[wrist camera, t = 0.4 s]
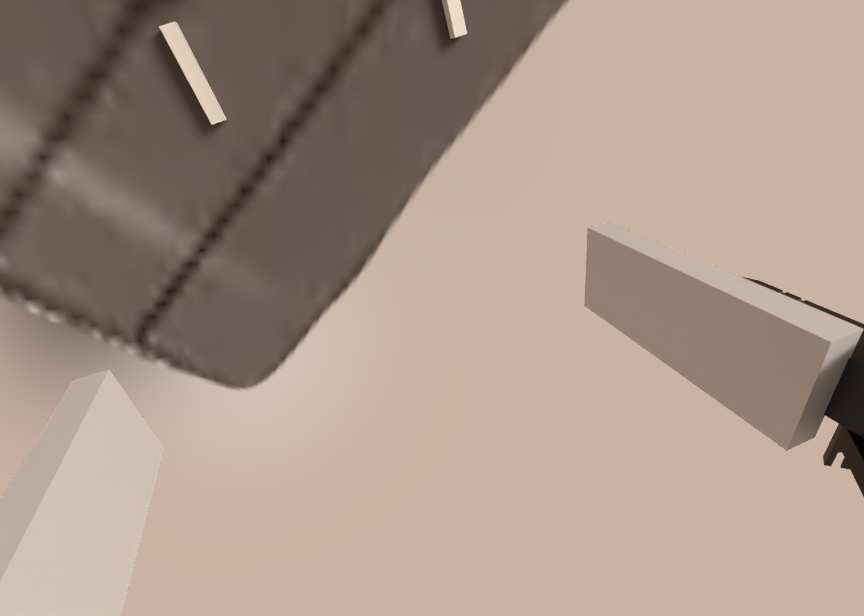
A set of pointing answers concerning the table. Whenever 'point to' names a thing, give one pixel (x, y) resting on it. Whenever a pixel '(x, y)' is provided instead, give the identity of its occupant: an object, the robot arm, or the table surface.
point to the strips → (202, 87)
